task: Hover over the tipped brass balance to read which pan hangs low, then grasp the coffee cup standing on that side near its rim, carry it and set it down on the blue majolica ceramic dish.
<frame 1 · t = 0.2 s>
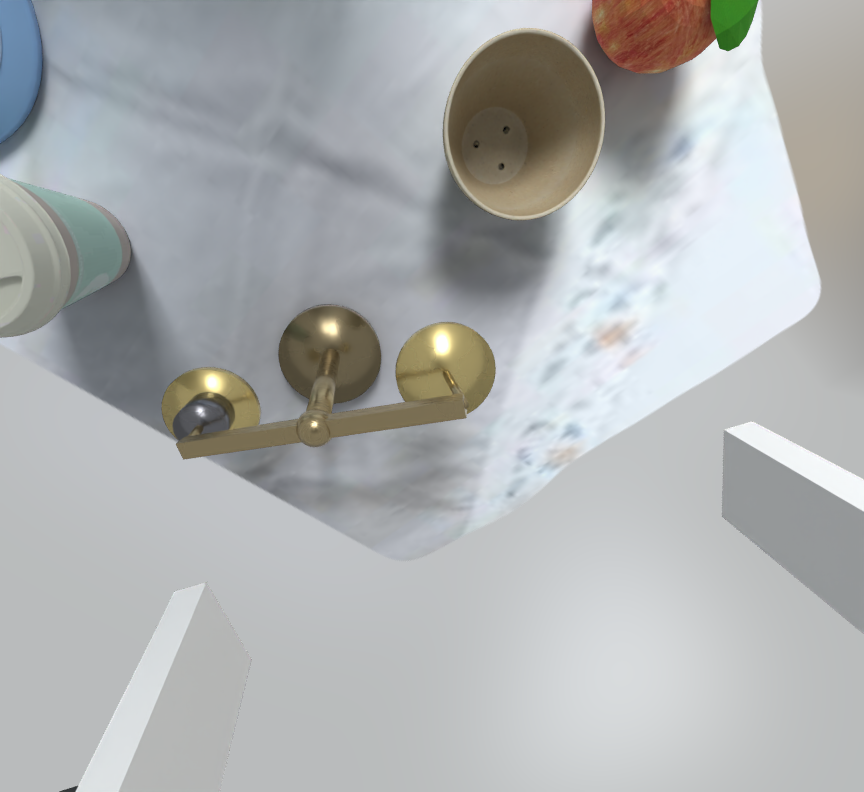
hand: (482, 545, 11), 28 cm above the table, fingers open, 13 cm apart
coffee cup: (87, 243, 32), on the table
balance: (331, 353, 37), on the table
fruit: (628, 19, 32), on the table
flower pot: (493, 148, 34), on the table
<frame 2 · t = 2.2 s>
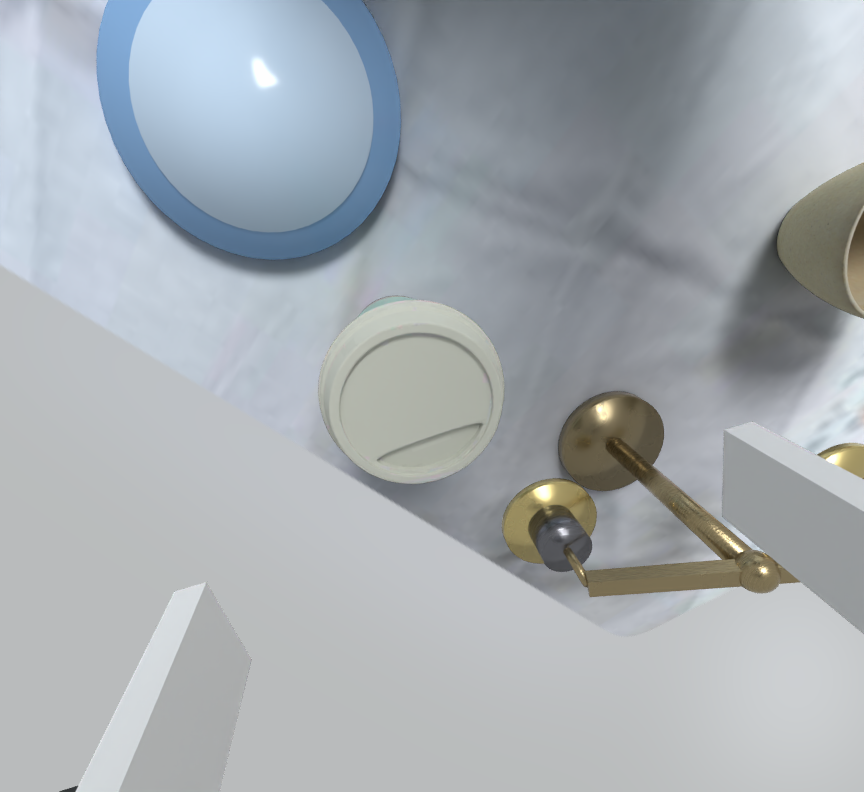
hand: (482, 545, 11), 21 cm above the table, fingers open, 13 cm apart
coffee cup: (396, 338, 30), on the table
balance: (606, 438, 36), on the table
flower pot: (806, 232, 32), on the table
dish: (261, 114, 25), on the table
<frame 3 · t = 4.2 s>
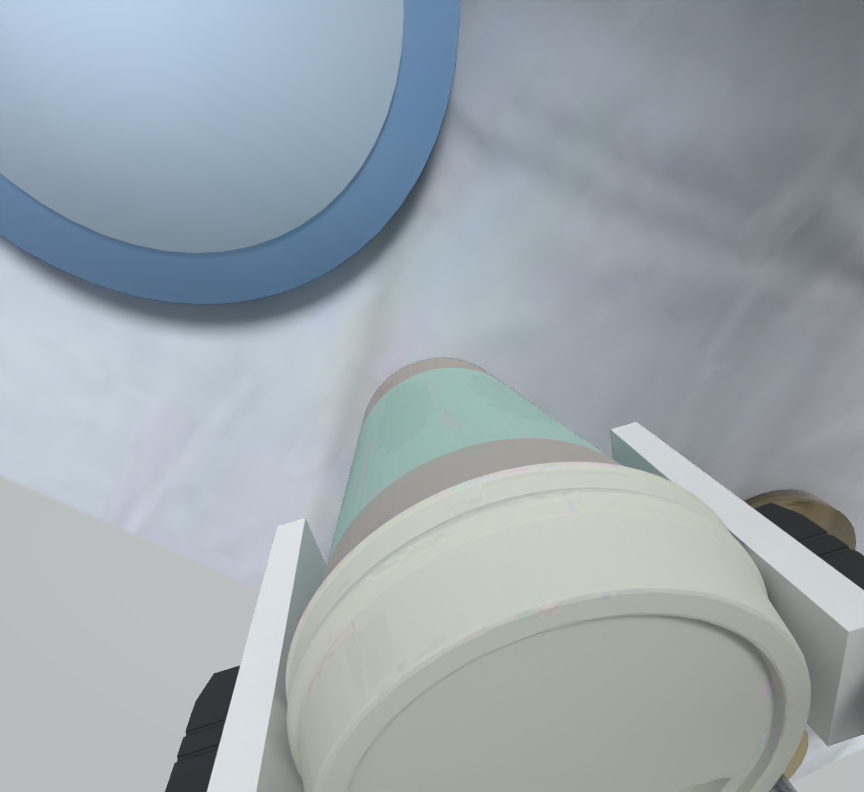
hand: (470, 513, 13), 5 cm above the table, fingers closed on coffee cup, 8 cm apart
coffee cup: (437, 427, 18), on the table, touching gripper
balance: (758, 557, 23), on the table
dish: (171, 10, 12), on the table
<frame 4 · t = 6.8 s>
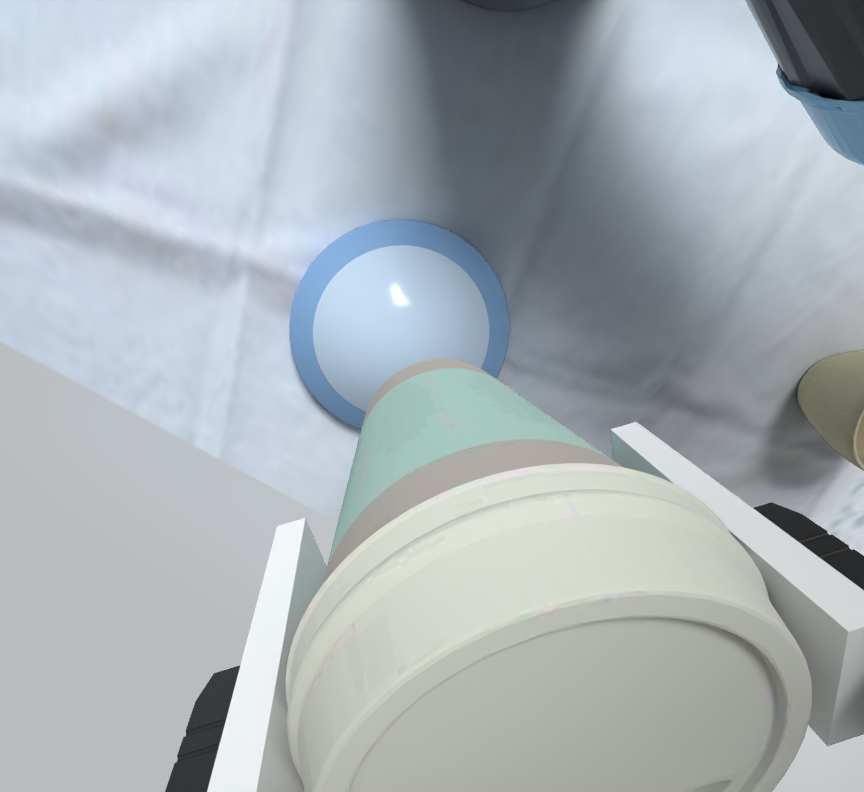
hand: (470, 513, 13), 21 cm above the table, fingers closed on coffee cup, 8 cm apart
coffee cup: (438, 427, 18), point 15 cm above the table, touching gripper
flower pot: (821, 383, 39), on the table
dish: (402, 333, 32), on the table
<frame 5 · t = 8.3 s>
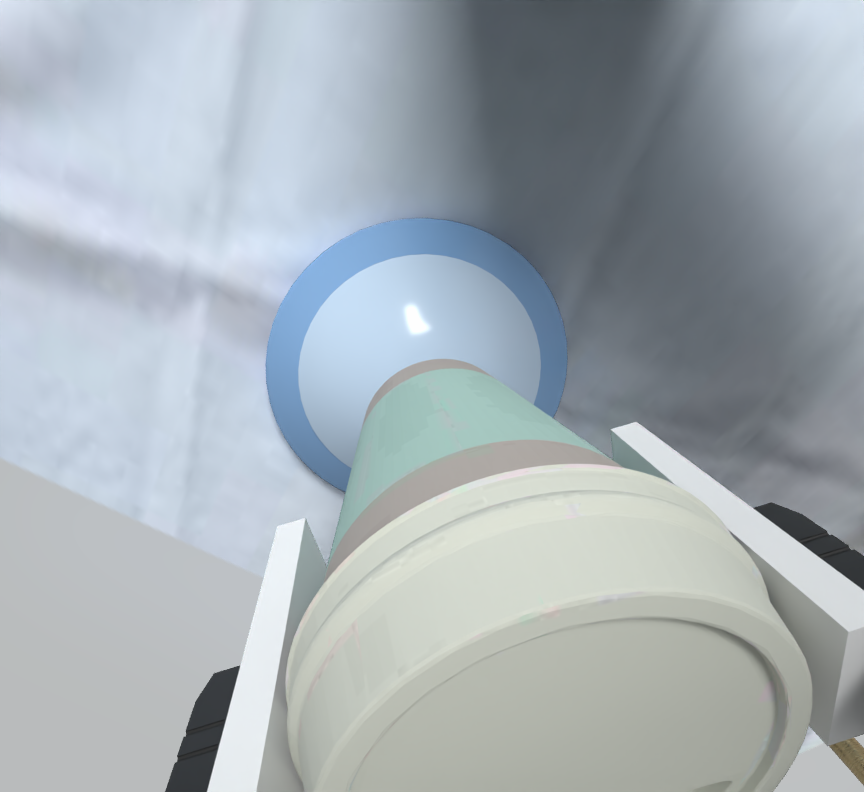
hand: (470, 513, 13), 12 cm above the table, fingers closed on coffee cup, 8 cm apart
coffee cup: (438, 427, 18), point 6 cm above the table, touching gripper
balance: (731, 621, 34), on the table
dish: (421, 373, 23), on the table
when the fingers open (8 cm above the table, at t = 9.6 s): coffee cup drops 1 cm, resting on dish.
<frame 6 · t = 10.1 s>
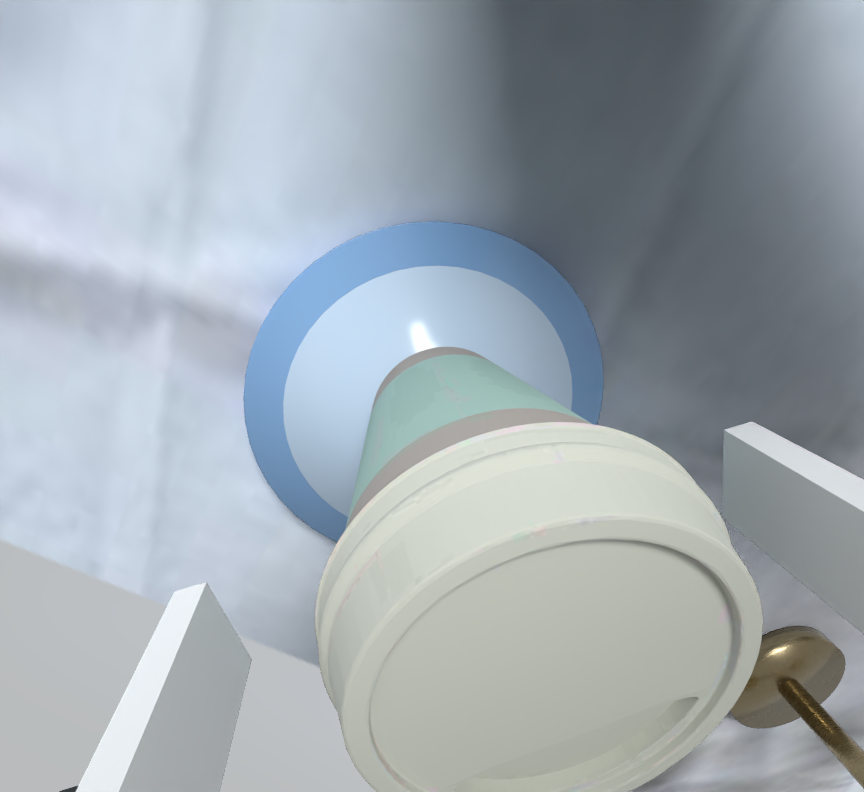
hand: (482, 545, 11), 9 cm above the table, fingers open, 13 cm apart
coffee cup: (442, 412, 19), point 1 cm above the table, touching dish
balance: (773, 670, 31), on the table
dish: (429, 404, 20), on the table
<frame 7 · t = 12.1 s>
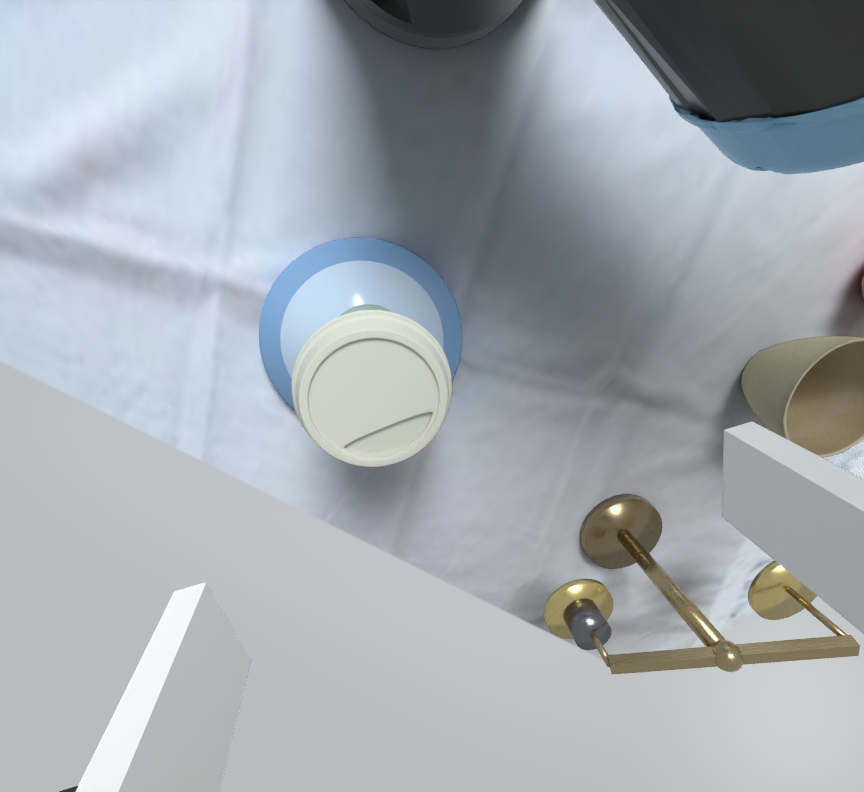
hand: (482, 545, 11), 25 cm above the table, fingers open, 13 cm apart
coffee cup: (369, 342, 34), point 1 cm above the table, touching dish
balance: (617, 528, 46), on the table
flower pot: (764, 372, 42), on the table
dish: (364, 340, 35), on the table
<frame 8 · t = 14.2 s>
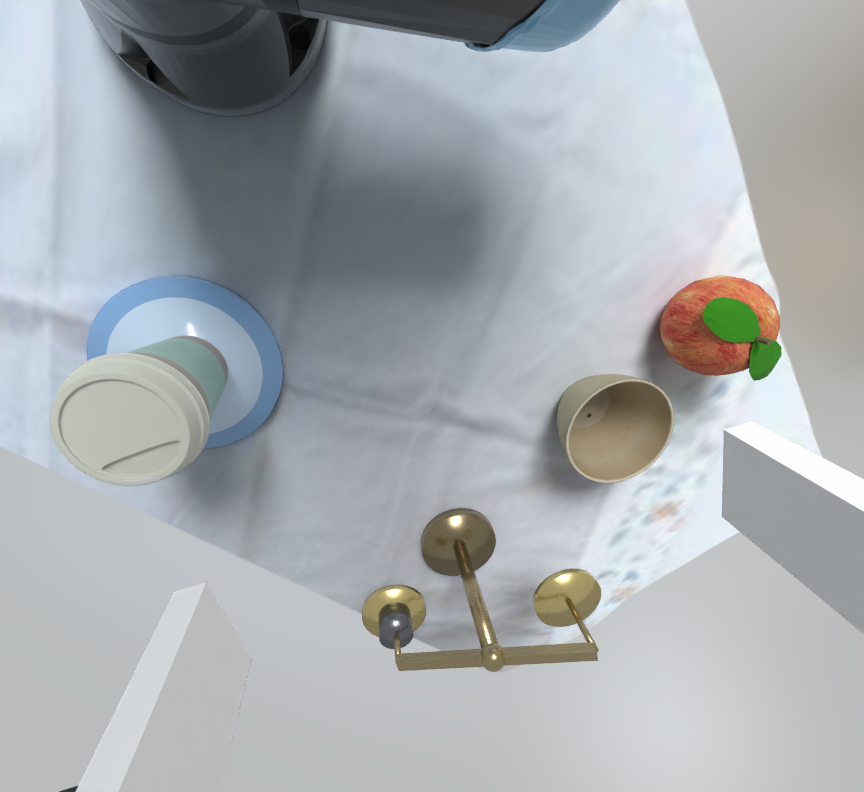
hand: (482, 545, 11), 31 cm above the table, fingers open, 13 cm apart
coffee cup: (192, 368, 38), point 1 cm above the table, touching dish
balance: (457, 538, 50), on the table
fruit: (683, 317, 44), on the table
flower pot: (582, 402, 46), on the table
dish: (192, 365, 39), on the table
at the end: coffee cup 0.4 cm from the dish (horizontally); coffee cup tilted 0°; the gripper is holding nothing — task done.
